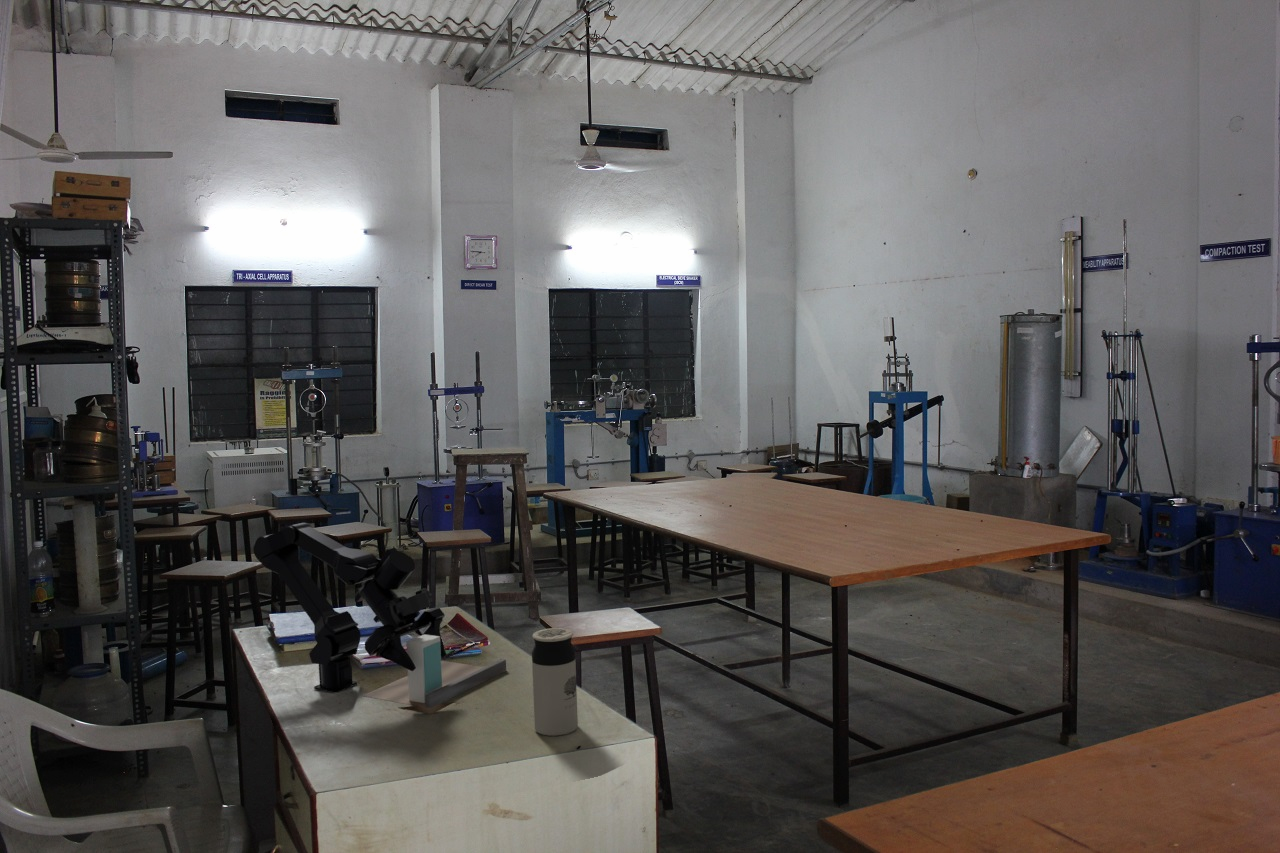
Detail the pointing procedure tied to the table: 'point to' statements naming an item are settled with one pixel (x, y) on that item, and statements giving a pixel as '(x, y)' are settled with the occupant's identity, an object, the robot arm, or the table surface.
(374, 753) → the table surface
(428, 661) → the product box
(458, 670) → the shelf board
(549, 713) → the travel mug
